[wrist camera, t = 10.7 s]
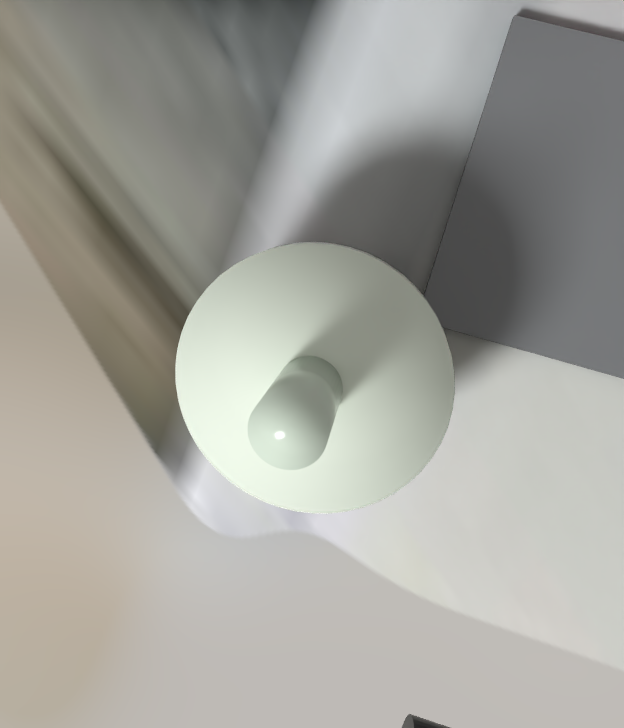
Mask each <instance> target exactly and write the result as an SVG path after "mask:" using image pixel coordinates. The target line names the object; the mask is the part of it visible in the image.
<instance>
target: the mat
mask: <svg viewBox="0 0 624 728" xmlns="http://www.w3.org/2000/svg"><path fill="white" fill-rule="evenodd" d="M424 297H425V298H426V299H427V301H428V302H429V304H430V306H431V307H432V309H433V310H434V312H435V313H436V315H437V317H438V319H439V322H440V324H441V326H442V327H443V328H447V329H450V330H454V331H457V332H461V333H464V334H468V335H471V336H475V337H478V338H482V339H485V340H489V341H492V342H496V343H499V344H503V345H507V346H510V347H514V348H517V349H521V350H524V351H528V352H531V353H535V354H538V355H542V356H545V357H549V358H552V359H556V360H559V361H563V362H567V363H570V364H574V365H577V366H581V367H584V368H588V369H591V370H595V371H598V372H602V373H605V374H609V375H612V376H616V377H619V378H623V379H624V41H621V40H617V39H612V38H608V37H604V36H600V35H596V34H592V33H587V32H583V31H579V30H575V29H571V28H567V27H562V26H558V25H554V24H550V23H546V22H541V21H537V20H533V19H529V18H525V17H521V16H516V15H515V16H514V17H513V19H512V22H511V25H510V28H509V32H508V35H507V38H506V41H505V44H504V47H503V50H502V53H501V57H500V60H499V63H498V66H497V69H496V72H495V75H494V78H493V82H492V85H491V88H490V91H489V94H488V97H487V100H486V103H485V107H484V110H483V113H482V116H481V119H480V122H479V125H478V128H477V131H476V135H475V138H474V141H473V144H472V147H471V150H470V153H469V156H468V160H467V163H466V166H465V169H464V172H463V175H462V178H461V181H460V185H459V188H458V191H457V194H456V197H455V200H454V203H453V206H452V209H451V213H450V216H449V219H448V222H447V225H446V228H445V231H444V234H443V238H442V241H441V244H440V247H439V250H438V253H437V256H436V259H435V263H434V266H433V269H432V272H431V275H430V278H429V281H428V284H427V287H426V291H425V294H424Z"/></svg>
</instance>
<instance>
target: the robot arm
mask: <svg viewBox="0 0 624 728" xmlns="http://www.w3.org/2000/svg"><path fill="white" fill-rule="evenodd" d="M402 728H449V727H446V726H444V725H441V724H437V723H435V722H432V721H429V720H426V719H423V718H420V717H417V716H414V715H411V714H409V715H408V716H407V717H406V719H405V721H404V724H403V726H402Z"/></svg>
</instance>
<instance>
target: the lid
mask: <svg viewBox="0 0 624 728" xmlns="http://www.w3.org/2000/svg"><path fill="white" fill-rule="evenodd" d="M175 367H176V388H177V395H178V401H179V404H180V408H181V411H182V415H183V418H184V420H185V423H186V425H187V427H188V430H189V432H190V434H191V436H192V437H193V439H194V441H195V443H196V444H197V446H198V448H199V449H200V450H201V452H202V453H203V454H204V456H205V457H206V458H207V460H208V461H209V462H210V463H211V464H212V465H213V466H214V467H215V468H216V469H217V470H218V472H219V473H221V474H222V475H223V476H224V477H225V478H226V479H228V480H229V481H230V482H231V483H232V484H234V485H235V486H237V487H238V488H240V489H241V490H243V491H244V492H246V493H247V494H249V495H251V496H253V497H255V498H257V499H259V500H261V501H263V502H266V503H269V504H271V505H274V506H277V507H280V508H284V509H288V510H292V511H298V512H305V513H338V512H347V511H351V510H355V509H359V508H363V507H366V506H368V505H371V504H374V503H377V502H379V501H381V500H383V499H385V498H387V497H389V496H390V495H392V494H394V493H396V492H397V491H398V490H400V489H401V488H403V487H404V486H406V485H407V484H408V483H409V482H410V481H411V480H413V479H414V478H415V477H416V476H417V475H418V474H419V473H420V472H421V471H422V470H423V469H424V467H425V466H426V465H427V464H428V462H429V461H430V460H431V459H432V457H433V456H434V454H435V452H436V451H437V449H438V447H439V446H440V444H441V442H442V440H443V437H444V435H445V433H446V430H447V428H448V425H449V421H450V417H451V414H452V410H453V402H454V394H455V377H454V368H453V362H452V355H451V352H450V349H449V345H448V342H447V339H446V336H445V333H444V330H443V328H442V326H441V324H440V322H439V319H438V317H437V315H436V313H435V312H434V310H433V309H432V307H431V306H430V304H429V302H428V301H427V299H426V298H425V297H424V296H423V294H422V293H421V292H420V291H419V290H418V289H417V287H416V286H415V285H414V284H413V283H412V282H411V281H410V280H408V279H407V278H406V277H405V276H404V275H403V274H402V273H401V272H399V271H398V270H396V269H395V268H393V267H392V266H390V265H389V264H388V263H386V262H385V261H383V260H381V259H379V258H377V257H375V256H373V255H371V254H369V253H366V252H363V251H361V250H358V249H355V248H352V247H349V246H343V245H338V244H333V243H323V242H303V243H292V244H288V245H283V246H278V247H274V248H271V249H268V250H266V251H263V252H260V253H257V254H255V255H252V256H250V257H248V258H246V259H244V260H242V261H241V262H239V263H237V264H235V265H234V266H232V267H231V268H230V269H228V270H227V271H225V272H224V273H223V274H221V275H220V276H219V277H218V278H217V279H216V280H215V281H214V282H213V283H212V284H211V285H210V286H209V287H208V288H207V289H206V290H205V292H204V293H203V294H202V295H201V297H200V298H199V299H198V301H197V302H196V304H195V305H194V307H193V309H192V311H191V312H190V314H189V316H188V318H187V320H186V323H185V325H184V328H183V330H182V333H181V337H180V341H179V345H178V349H177V357H176V366H175Z"/></svg>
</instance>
